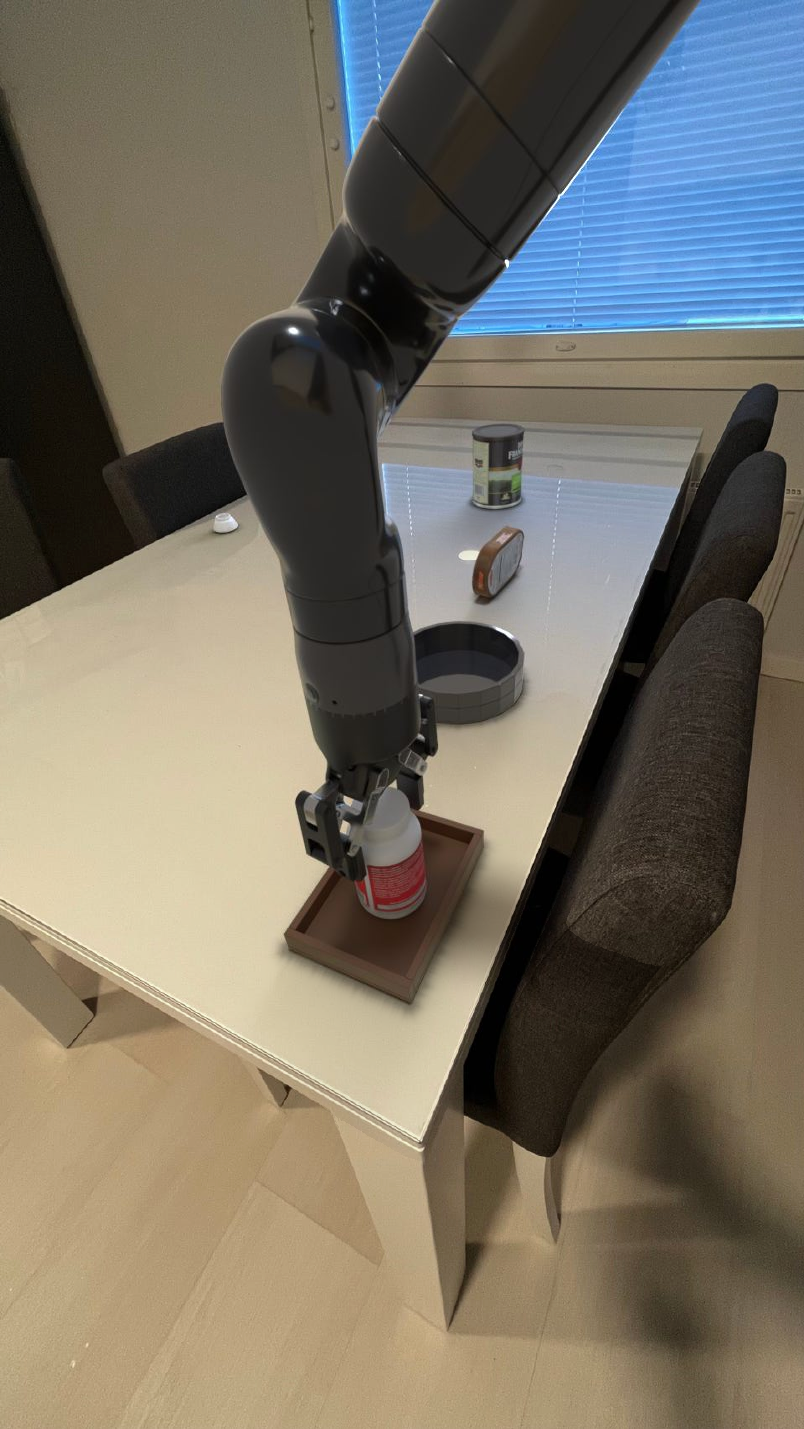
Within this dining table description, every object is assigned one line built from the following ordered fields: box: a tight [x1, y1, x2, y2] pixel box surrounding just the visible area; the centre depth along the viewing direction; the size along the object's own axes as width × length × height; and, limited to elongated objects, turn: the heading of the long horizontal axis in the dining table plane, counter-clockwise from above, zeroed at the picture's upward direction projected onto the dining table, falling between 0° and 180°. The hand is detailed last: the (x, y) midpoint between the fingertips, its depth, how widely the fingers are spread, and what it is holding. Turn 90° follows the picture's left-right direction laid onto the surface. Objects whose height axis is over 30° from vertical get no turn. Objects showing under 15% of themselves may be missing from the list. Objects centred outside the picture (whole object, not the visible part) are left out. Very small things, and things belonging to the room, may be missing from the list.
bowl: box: [413, 620, 526, 725], centre depth 77 cm, size 16×16×4 cm
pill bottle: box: [345, 785, 427, 919], centre depth 50 cm, size 6×6×11 cm
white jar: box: [212, 512, 239, 534], centre depth 127 cm, size 5×3×5 cm
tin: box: [471, 525, 525, 598], centre depth 96 cm, size 15×3×8 cm, turn 149°
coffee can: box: [471, 423, 525, 510], centre depth 124 cm, size 10×10×14 cm
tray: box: [283, 808, 485, 1004], centre depth 53 cm, size 16×11×2 cm
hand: (384, 837), depth 49 cm, fingers open, 8 cm apart
